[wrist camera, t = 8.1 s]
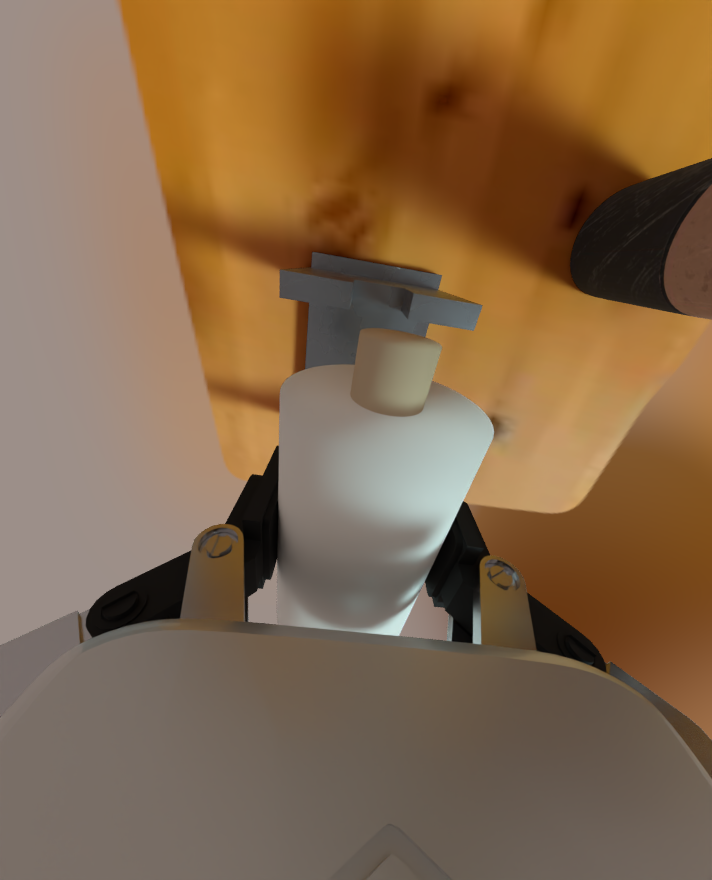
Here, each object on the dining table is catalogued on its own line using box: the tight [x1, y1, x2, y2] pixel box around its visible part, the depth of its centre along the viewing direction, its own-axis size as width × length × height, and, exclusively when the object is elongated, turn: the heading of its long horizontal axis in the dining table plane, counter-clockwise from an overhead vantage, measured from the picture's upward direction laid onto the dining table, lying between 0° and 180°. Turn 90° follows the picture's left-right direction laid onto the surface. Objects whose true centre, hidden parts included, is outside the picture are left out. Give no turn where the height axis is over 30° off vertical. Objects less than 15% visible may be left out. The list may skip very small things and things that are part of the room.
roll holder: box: [280, 252, 483, 369], centre depth 22 cm, size 16×10×11 cm, turn 171°
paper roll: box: [277, 328, 494, 636], centre depth 10 cm, size 13×6×6 cm, turn 171°
